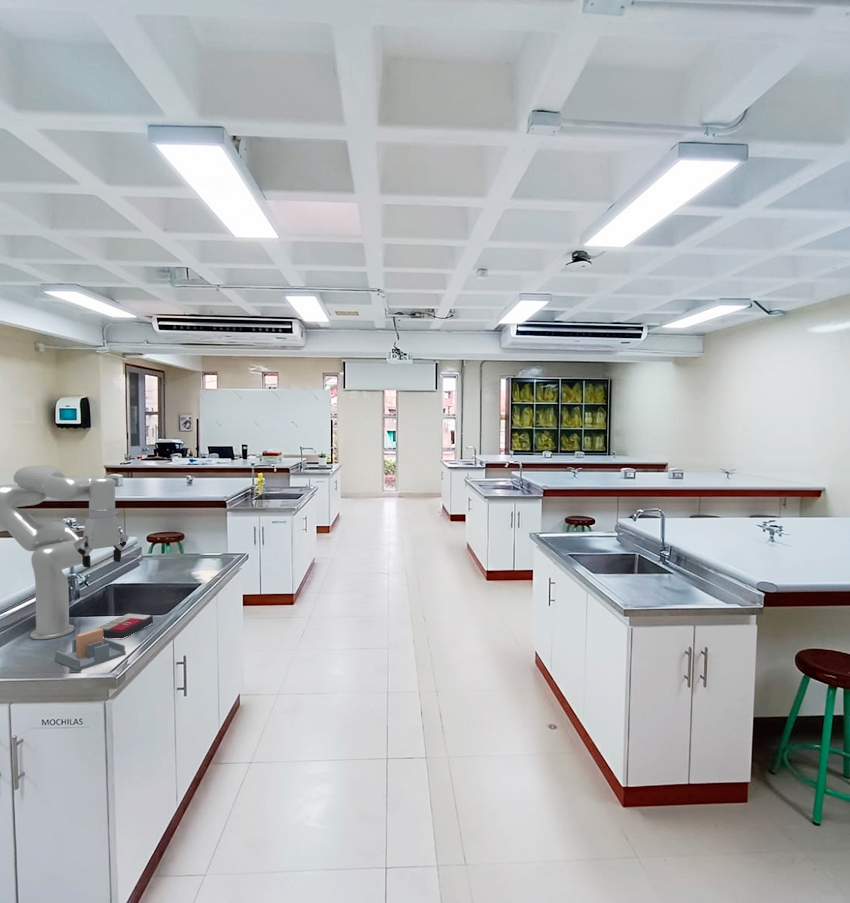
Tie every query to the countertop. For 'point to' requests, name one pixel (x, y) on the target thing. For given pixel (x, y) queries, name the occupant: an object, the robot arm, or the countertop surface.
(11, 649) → the countertop surface
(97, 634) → the tile
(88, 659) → the rack
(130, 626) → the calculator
